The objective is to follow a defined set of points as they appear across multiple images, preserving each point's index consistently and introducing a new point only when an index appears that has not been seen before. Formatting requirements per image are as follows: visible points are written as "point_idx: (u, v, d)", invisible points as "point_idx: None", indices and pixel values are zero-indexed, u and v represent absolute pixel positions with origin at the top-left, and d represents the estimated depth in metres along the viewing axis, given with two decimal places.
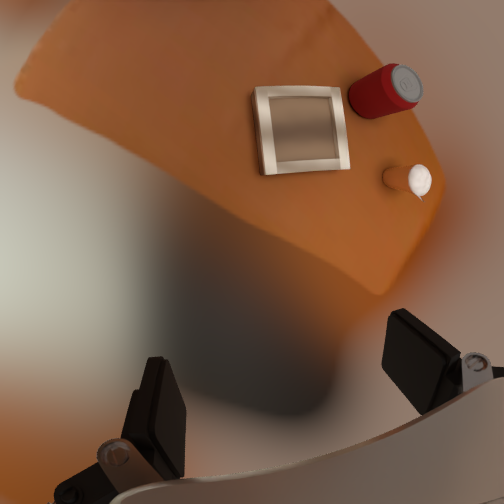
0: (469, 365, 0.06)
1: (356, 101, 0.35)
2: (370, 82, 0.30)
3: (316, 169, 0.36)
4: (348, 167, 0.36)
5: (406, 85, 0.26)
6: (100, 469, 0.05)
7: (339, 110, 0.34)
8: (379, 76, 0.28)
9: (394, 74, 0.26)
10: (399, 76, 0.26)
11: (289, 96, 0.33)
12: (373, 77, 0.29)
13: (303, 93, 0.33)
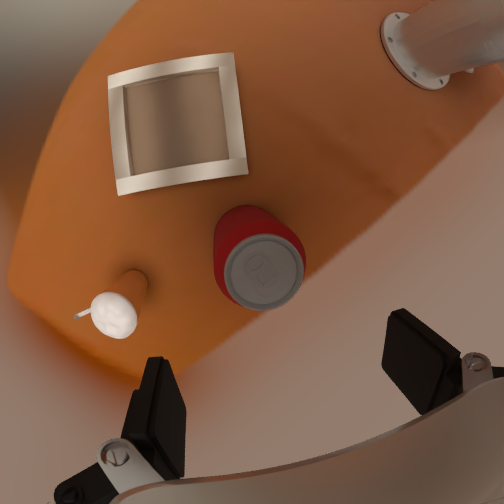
0: (469, 365, 0.06)
1: (233, 211, 0.26)
2: (259, 214, 0.22)
3: (112, 141, 0.22)
4: (119, 192, 0.23)
5: (259, 269, 0.19)
6: (100, 469, 0.05)
7: (207, 172, 0.24)
8: (269, 220, 0.20)
9: (275, 242, 0.18)
10: (274, 254, 0.18)
11: (221, 96, 0.22)
12: (269, 217, 0.21)
13: (228, 114, 0.22)
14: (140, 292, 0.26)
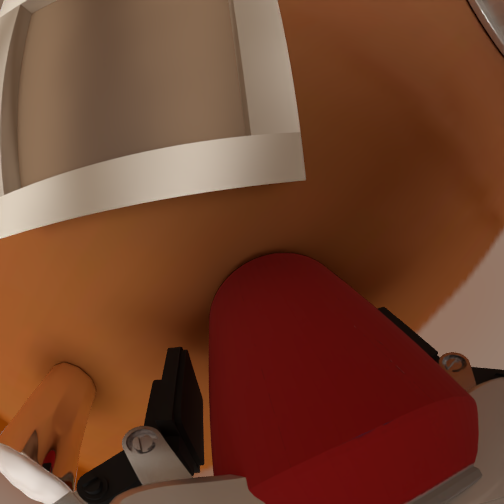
0: (447, 366, 0.07)
1: (255, 275, 0.10)
2: (363, 328, 0.06)
3: None
4: None
5: None
6: (125, 458, 0.06)
7: (183, 174, 0.08)
8: (431, 387, 0.04)
9: None
10: None
11: None
12: (399, 343, 0.05)
13: (247, 20, 0.07)
14: (73, 425, 0.10)
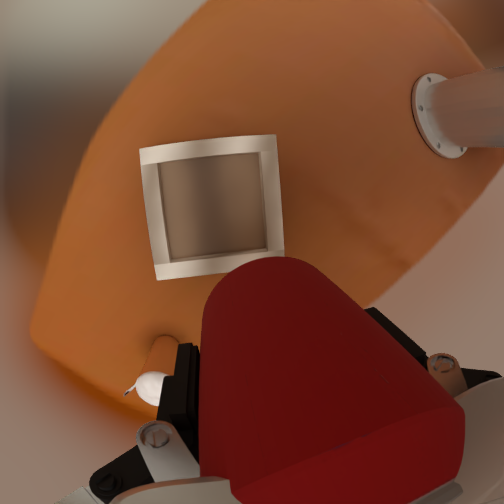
0: (435, 367, 0.07)
1: (246, 279, 0.10)
2: (350, 335, 0.06)
3: (149, 225, 0.24)
4: (158, 277, 0.25)
5: None
6: (138, 453, 0.06)
7: None
8: (416, 398, 0.04)
9: None
10: None
11: (262, 185, 0.25)
12: (386, 351, 0.05)
13: (268, 206, 0.25)
14: None
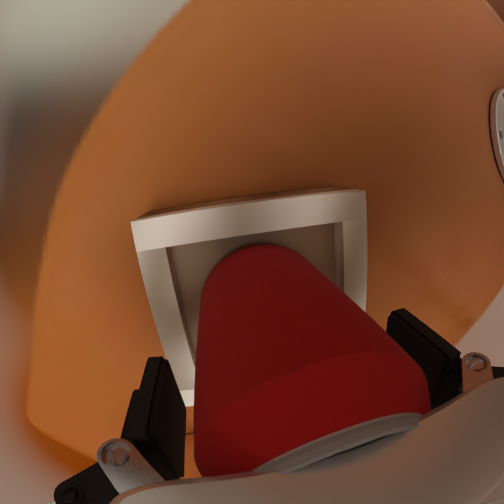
0: (469, 365, 0.06)
1: (237, 261, 0.12)
2: (317, 298, 0.08)
3: (164, 344, 0.14)
4: (186, 403, 0.16)
5: None
6: (100, 469, 0.05)
7: None
8: (365, 342, 0.06)
9: None
10: None
11: (341, 272, 0.15)
12: (346, 311, 0.07)
13: None
14: None
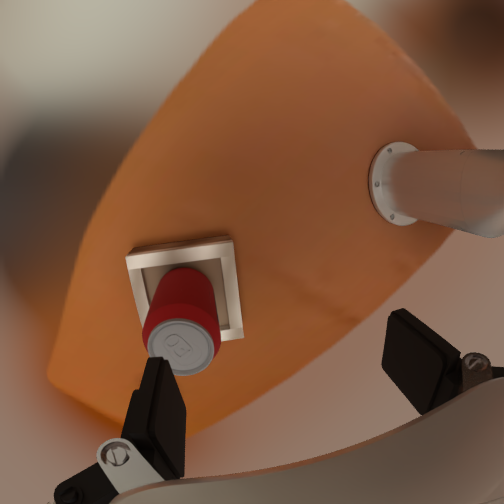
0: (469, 365, 0.06)
1: (169, 275, 0.28)
2: (183, 290, 0.24)
3: (139, 313, 0.30)
4: None
5: (175, 345, 0.21)
6: (100, 469, 0.05)
7: None
8: (186, 301, 0.22)
9: (187, 325, 0.20)
10: (187, 334, 0.21)
11: (223, 281, 0.32)
12: (190, 294, 0.23)
13: (229, 298, 0.32)
14: None
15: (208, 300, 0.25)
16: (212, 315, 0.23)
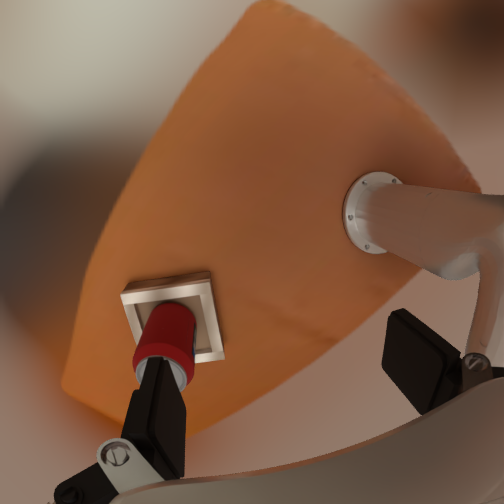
0: (469, 365, 0.06)
1: (156, 311, 0.33)
2: (164, 328, 0.28)
3: (135, 339, 0.35)
4: None
5: None
6: (100, 469, 0.05)
7: (199, 359, 0.37)
8: (164, 340, 0.26)
9: None
10: None
11: (204, 314, 0.36)
12: (169, 333, 0.28)
13: (209, 327, 0.36)
14: None
15: (185, 336, 0.29)
16: (186, 351, 0.27)
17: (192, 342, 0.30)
